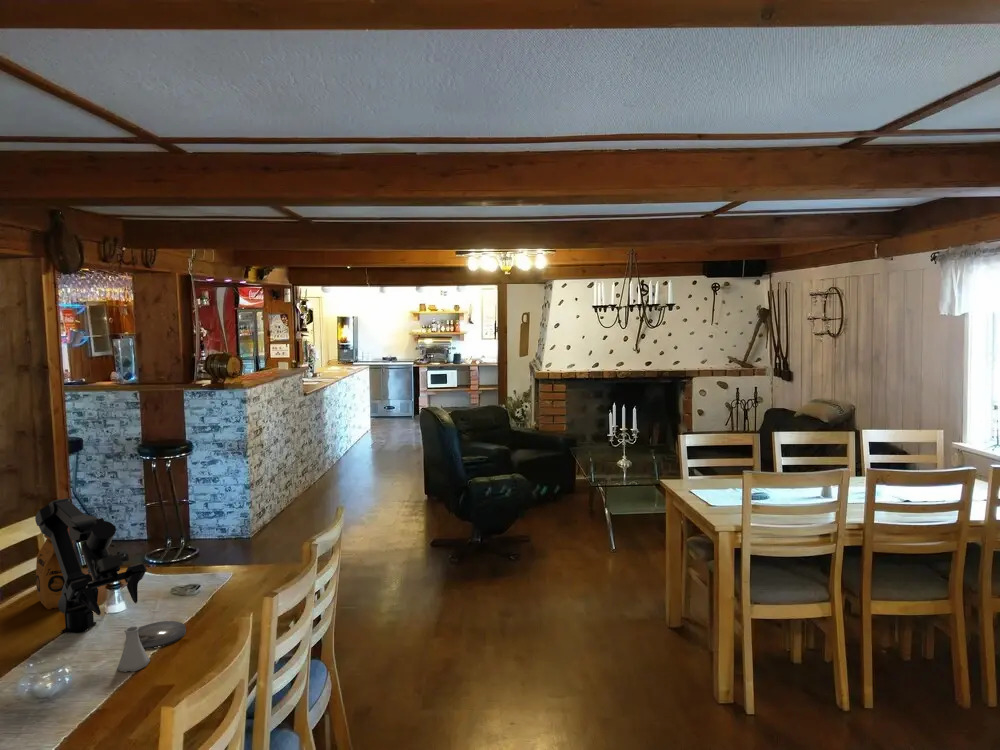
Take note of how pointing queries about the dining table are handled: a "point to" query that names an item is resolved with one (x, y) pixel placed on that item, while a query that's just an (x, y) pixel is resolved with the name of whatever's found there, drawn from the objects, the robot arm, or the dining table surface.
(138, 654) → the flask
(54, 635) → the dining table surface
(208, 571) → the dining table surface
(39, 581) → the coffee package
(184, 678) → the dining table surface
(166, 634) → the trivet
